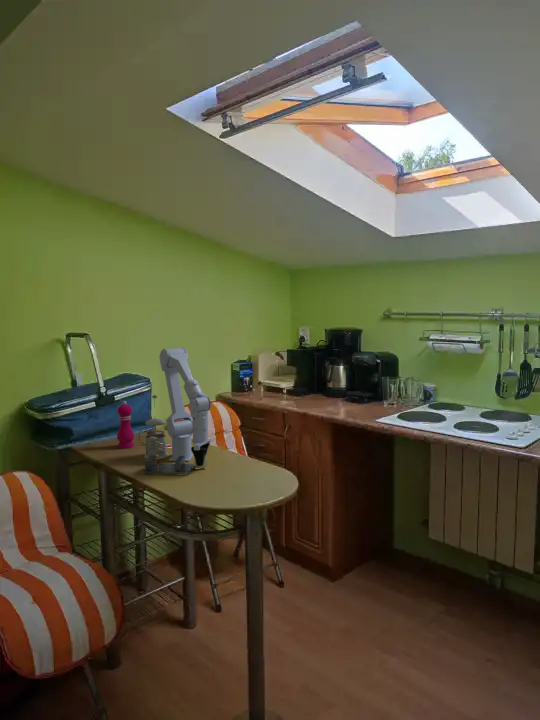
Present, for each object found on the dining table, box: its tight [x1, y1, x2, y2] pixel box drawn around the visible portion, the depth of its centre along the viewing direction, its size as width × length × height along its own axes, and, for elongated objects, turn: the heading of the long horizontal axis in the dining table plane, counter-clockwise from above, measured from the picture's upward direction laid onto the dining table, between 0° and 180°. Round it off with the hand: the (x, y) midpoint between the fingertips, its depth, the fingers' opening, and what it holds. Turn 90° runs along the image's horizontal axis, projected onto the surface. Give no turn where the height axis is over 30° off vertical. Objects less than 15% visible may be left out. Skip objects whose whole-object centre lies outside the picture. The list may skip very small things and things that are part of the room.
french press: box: [137, 394, 169, 460], centre depth 214 cm, size 10×12×25 cm
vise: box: [143, 456, 195, 476], centre depth 197 cm, size 10×16×4 cm, turn 86°
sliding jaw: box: [144, 454, 159, 470], centre depth 200 cm, size 12×2×4 cm, turn 176°
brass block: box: [193, 452, 208, 469], centre depth 200 cm, size 4×4×5 cm
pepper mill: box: [116, 400, 135, 450], centre depth 229 cm, size 7×7×20 cm
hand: (201, 463), depth 200 cm, fingers closed on brass block, 4 cm apart
